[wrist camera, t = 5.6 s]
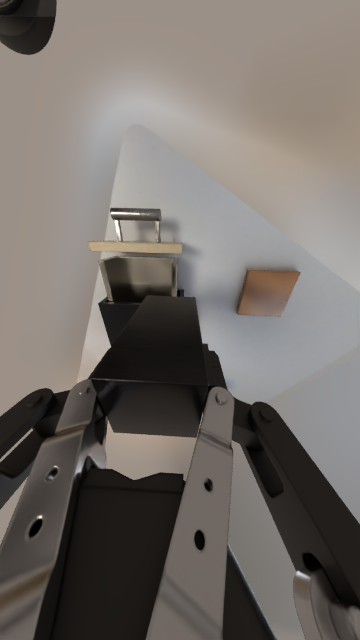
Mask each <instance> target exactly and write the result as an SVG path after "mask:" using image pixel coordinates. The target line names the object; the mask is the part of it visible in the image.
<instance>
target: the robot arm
mask: <svg viewBox="0 0 360 640" xmlns="http://www.w3.org/2000/svg"><path fill="white" fill-rule="evenodd" d="M22 1H23V0H0V14H2V15H7V14H11V13H13V12H15V11H16V10H17V9H18V8H19V6H20V5H21V3H22ZM202 345H203V351H204V358H205V364H206V371H207V377H208V383H209V386H208V390H207V395H206V399H205V404H204V408H203V418H202V421H201V425H200V429H199V433H198V437H197V441H196V445H195V449H194V452H193V456H192V460H191V465H190V468H189V472H188V476H187V480H186V481H184V480H183V474H174V473H157V474H154V475H150V476H148V477H144V478H141V479H138V480H132V479H130V478H128V477H126V476H124V475H122V474H120V473H119V472H117V471H115V470H113V469H106V452H105V443H106V432H107V422H108V418H107V416H106V414H105V412H104V409H103V407H102V405H101V403H100V400H99V398H98V396H97V394H96V391H95V389H94V387H93V385H92V383H91V380H90V377H91V376H92V374H93V373H94V371H95V370H96V368H97V367H98V365H99V364H100V363H101V361H102V360H103V358H104V357H105V355H106V354H107V352H108V351H109V350H110V349H109V350H108V351H107V352H106V354H105V355H104V356H103V358H102V359H101V361H100V362H99V364H98V365H97V366H96V368H95V369H94V371H93V372H92V374H91V375H90V376H89V378H88V379H87V380H84V381H81V382H79V383H78V384H76V385H75V386H74V387H73V388H72V389H71V390H68V391H64V392H59V393H55V394H54V393H53V392H52V390H51V389H47V388H44V389H39V390H36V391H34V392H32V393H30V394H29V395H27V396H26V397H25V398H23V399H22V400H21V401H19V402H18V403H17V404H16V405H14V406H13V407H12V408H11V409H9V410H8V411H7V412H5V413H4V414H3V415H2V416H1V417H0V459H1V458H2V456H3V455H5V454H6V453H7V451H9V450H10V449H11V448H12V447H13V446H14V445H15V444H16V443H17V442H18V441H19V440H20V439H21V438H22V437H23V436H24V435H25V434H26V433H27V432H28V431H29V430H30V429H31V428H32V429H33V431H32V432H31V433H30V434H29V435H28V436H27V437H26V438H25V439H24V440H23V441H22V442H21V443H20V444H19V445H18V446H17V447H16V448H15V449H14V450H13V451H12V452H11V453H10V454H9V455H8V456H7V457H6V458H5V459H4V460H3V461H1V462H0V509H1V508H2V507H3V506H4V504H5V503H6V502H7V501H8V500H9V498H10V497H11V496H12V495H13V494H14V492H15V491H16V490H17V489H18V488H19V486H20V485H21V484H22V483H23V481H24V480H25V479H26V478H27V477H28V479H27V482H26V484H25V487H24V489H23V491H22V494H21V496H20V499H19V501H18V503H17V506H16V508H15V511H14V514H13V516H12V518H11V521H10V523H9V526H8V528H7V531H6V533H5V536H4V538H3V540H2V543H1V546H0V640H277V638H276V636H275V634H274V632H273V630H272V628H271V626H270V624H269V623H268V620H267V618H266V616H265V615H264V613H263V611H262V609H261V607H260V605H259V603H258V601H257V599H256V597H255V595H254V593H253V591H252V589H251V587H250V585H249V583H248V581H247V579H246V577H245V575H244V573H243V571H242V569H241V567H240V566H239V564H238V561H237V559H236V558H235V556H234V554H233V552H232V550H231V548H230V546H229V544H228V530H229V515H230V500H231V483H232V469H233V468H232V467H233V449H232V447H231V441H232V440H233V441H235V442H237V443H239V444H240V445H241V447H242V449H243V451H244V454H245V456H246V459H247V461H248V463H249V465H250V468H251V470H252V472H253V474H254V477H255V479H256V481H257V483H258V486H259V488H260V490H261V492H262V495H263V497H264V499H265V501H266V504H267V506H268V508H269V511H270V513H271V515H272V517H273V520H274V522H275V524H276V526H277V529H278V531H279V533H280V535H281V538H282V540H283V542H284V544H285V547H286V549H287V551H288V554H289V555H290V558H291V560H292V563H293V565H294V567H295V569H296V571H297V572H296V574H295V577H294V581H293V595H294V601H295V607H296V611H297V614H298V617H299V621H300V624H301V627H302V630H303V633H304V636H305V640H360V524H359V523H358V521H357V520H356V519H355V517H354V516H353V515H352V513H351V512H350V511H349V509H348V508H347V507H346V505H345V504H344V502H343V501H342V500H341V498H340V497H339V496H338V494H337V493H336V492H335V490H334V489H333V487H332V486H331V485H330V483H329V482H328V481H327V479H326V478H325V477H324V475H323V474H322V472H321V471H320V470H319V468H318V467H317V466H316V464H315V463H314V462H313V461H312V459H311V458H310V456H309V455H308V454H307V452H306V451H305V449H304V448H303V447H302V445H301V444H300V443H299V441H298V440H297V438H296V437H295V436H294V434H293V433H292V432H291V430H290V429H289V428H288V426H287V425H286V424H285V422H284V421H283V419H282V418H281V417H280V415H279V414H278V413H277V411H276V410H275V409H274V408H272V407H271V406H270V405H268V404H266V403H264V402H255V403H253V405H250V404H247V403H245V402H242V401H240V400H238V399H236V398H234V397H233V396H232V394H231V393H230V392H229V391H228V389H227V387H226V383H225V379H224V376H223V372H222V368H221V365H220V361H219V357H218V355H217V354H216V353H215V352H214V351H209V349H208V345H207V344H202Z"/></svg>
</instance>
